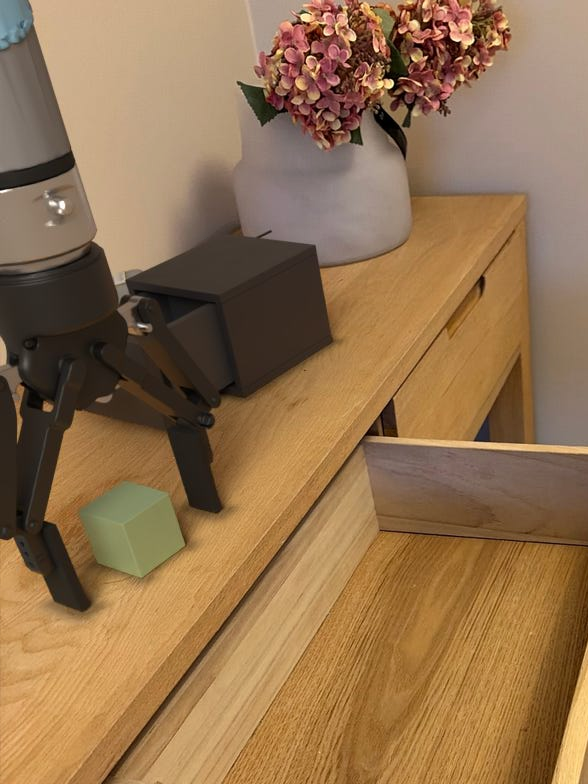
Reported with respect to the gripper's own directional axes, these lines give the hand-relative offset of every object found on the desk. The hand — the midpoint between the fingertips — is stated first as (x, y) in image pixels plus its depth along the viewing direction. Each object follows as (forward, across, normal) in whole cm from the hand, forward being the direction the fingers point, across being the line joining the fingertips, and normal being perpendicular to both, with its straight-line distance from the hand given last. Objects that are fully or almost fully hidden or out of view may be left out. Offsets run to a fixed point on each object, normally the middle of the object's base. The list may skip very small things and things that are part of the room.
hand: (143, 552), depth 71 cm
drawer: (-1, +18, +16) cm, 24 cm away
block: (0, 0, 0) cm, 0 cm away
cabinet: (0, +30, +16) cm, 34 cm away
